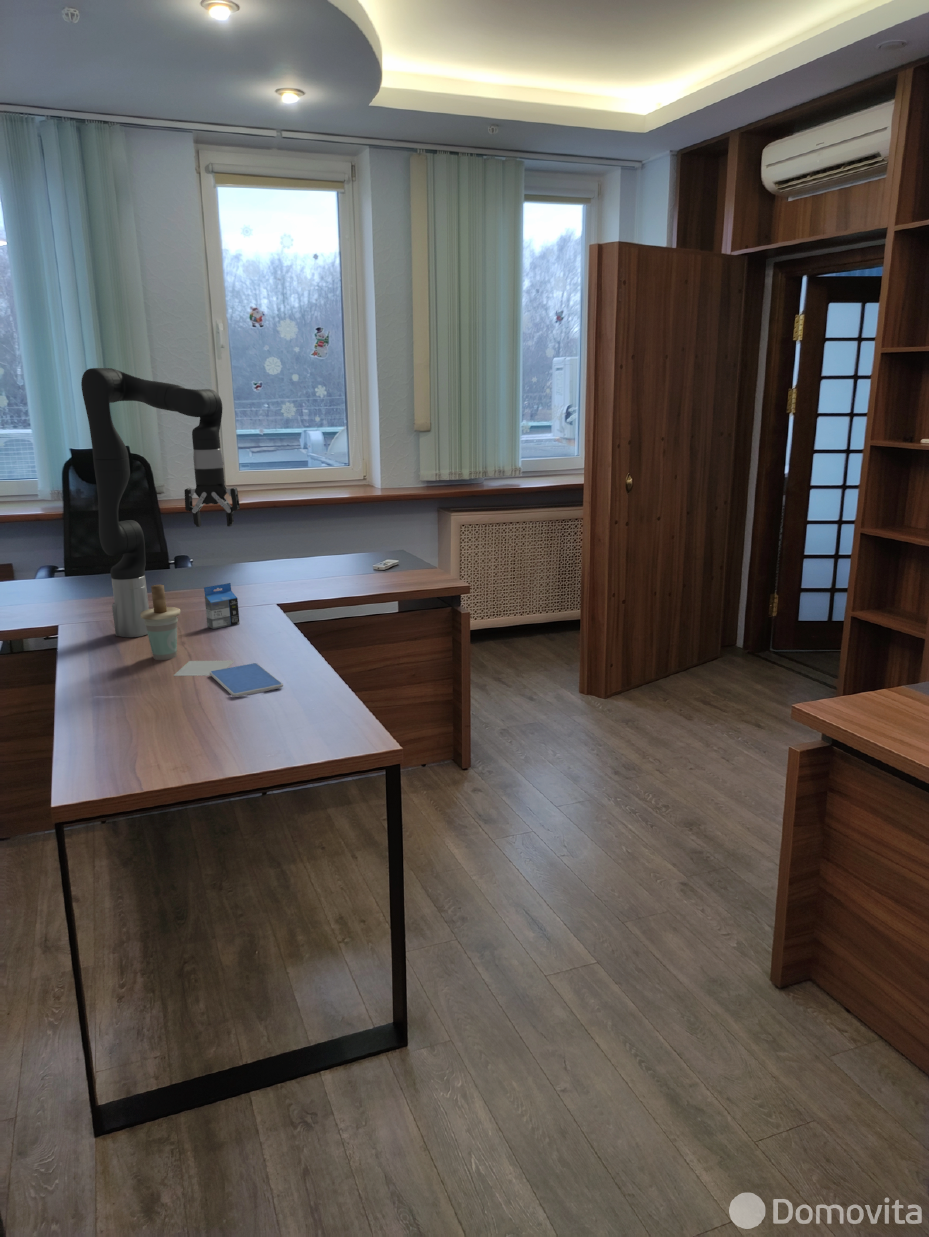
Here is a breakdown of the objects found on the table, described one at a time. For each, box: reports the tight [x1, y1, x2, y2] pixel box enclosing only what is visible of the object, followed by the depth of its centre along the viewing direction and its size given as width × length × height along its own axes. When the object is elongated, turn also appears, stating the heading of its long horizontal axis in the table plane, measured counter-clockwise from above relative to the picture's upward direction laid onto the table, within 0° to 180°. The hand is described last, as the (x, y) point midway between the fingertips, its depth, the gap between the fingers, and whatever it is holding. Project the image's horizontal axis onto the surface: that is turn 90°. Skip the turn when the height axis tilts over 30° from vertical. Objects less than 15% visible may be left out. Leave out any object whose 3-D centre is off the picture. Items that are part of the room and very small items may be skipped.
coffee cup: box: [144, 616, 179, 661], centre depth 234 cm, size 8×8×12 cm
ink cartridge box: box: [203, 582, 241, 630], centre depth 264 cm, size 9×4×12 cm, turn 131°
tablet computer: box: [210, 662, 284, 698], centre depth 214 cm, size 19×13×1 cm, turn 32°
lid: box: [140, 584, 181, 620], centre depth 231 cm, size 10×10×8 cm
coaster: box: [173, 660, 235, 677], centre depth 225 cm, size 12×12×1 cm
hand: (214, 526), depth 240 cm, fingers open, 8 cm apart
